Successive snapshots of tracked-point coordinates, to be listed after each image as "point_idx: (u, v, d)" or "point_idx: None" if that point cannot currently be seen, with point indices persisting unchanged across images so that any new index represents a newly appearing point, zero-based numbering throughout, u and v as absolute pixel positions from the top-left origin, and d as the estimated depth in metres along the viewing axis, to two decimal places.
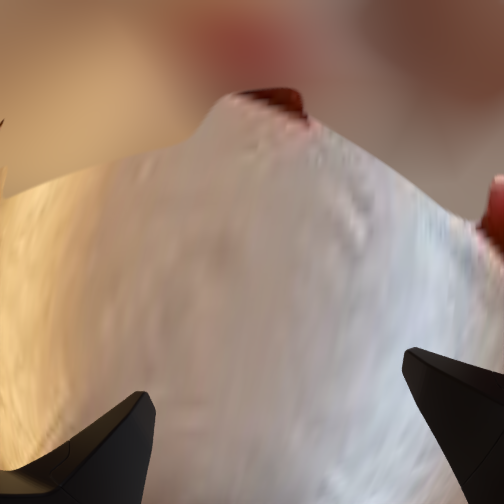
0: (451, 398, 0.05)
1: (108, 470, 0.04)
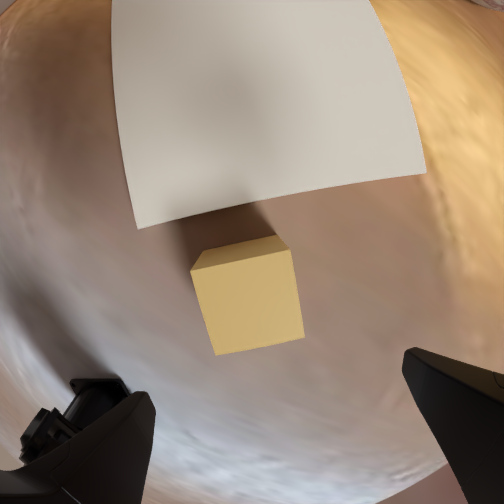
0: (451, 398, 0.05)
1: (108, 470, 0.04)
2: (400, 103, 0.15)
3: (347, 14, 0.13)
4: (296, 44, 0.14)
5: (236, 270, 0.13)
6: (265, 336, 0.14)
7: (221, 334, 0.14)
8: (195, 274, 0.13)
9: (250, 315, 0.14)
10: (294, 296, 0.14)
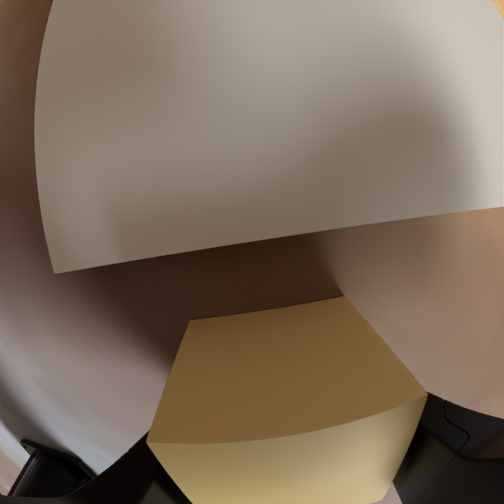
0: None
1: None
2: None
3: None
4: None
5: (279, 451, 0.04)
6: None
7: None
8: (161, 450, 0.04)
9: (294, 500, 0.04)
10: (394, 465, 0.04)
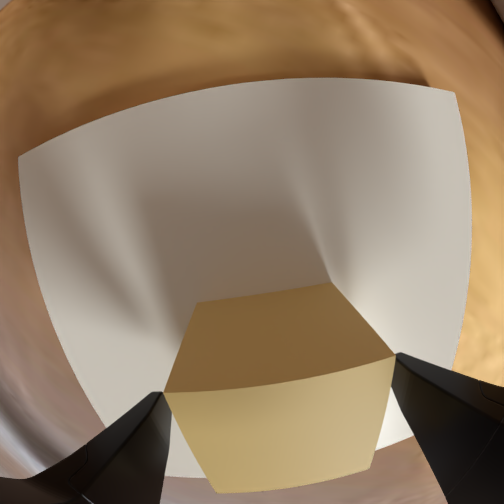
0: (434, 406, 0.05)
1: (128, 474, 0.04)
2: None
3: (432, 246, 0.10)
4: None
5: (272, 400, 0.05)
6: (307, 477, 0.06)
7: (228, 477, 0.06)
8: (175, 401, 0.05)
9: (287, 458, 0.06)
10: (375, 427, 0.06)
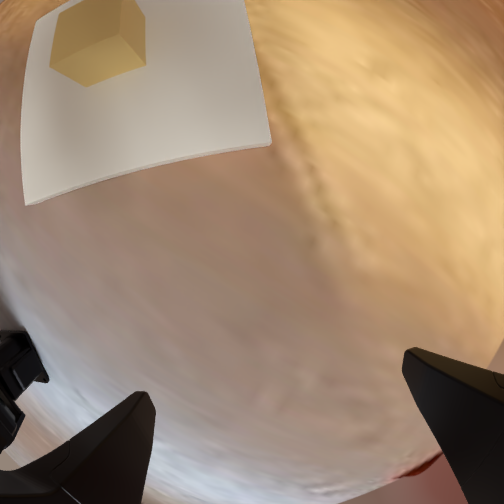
0: (451, 398, 0.05)
1: (108, 470, 0.04)
2: (243, 72, 0.15)
3: None
4: None
5: (85, 3, 0.09)
6: (88, 39, 0.10)
7: (58, 47, 0.09)
8: (60, 13, 0.09)
9: (82, 26, 0.09)
10: (118, 6, 0.09)
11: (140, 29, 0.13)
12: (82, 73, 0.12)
